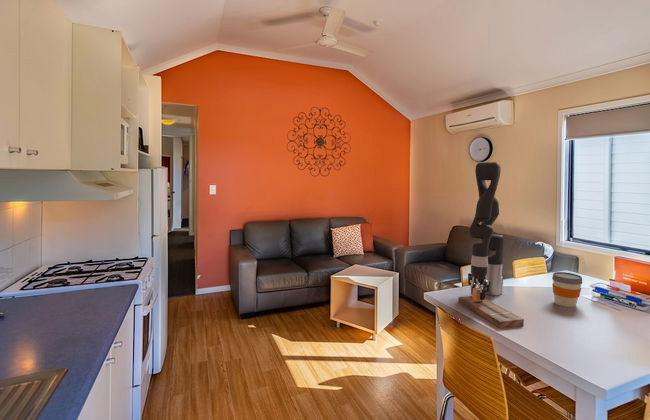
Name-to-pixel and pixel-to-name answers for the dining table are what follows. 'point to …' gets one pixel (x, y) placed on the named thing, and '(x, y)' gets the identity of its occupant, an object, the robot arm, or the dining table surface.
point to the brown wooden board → (492, 312)
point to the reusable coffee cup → (566, 288)
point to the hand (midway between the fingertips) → (477, 296)
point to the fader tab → (476, 295)
